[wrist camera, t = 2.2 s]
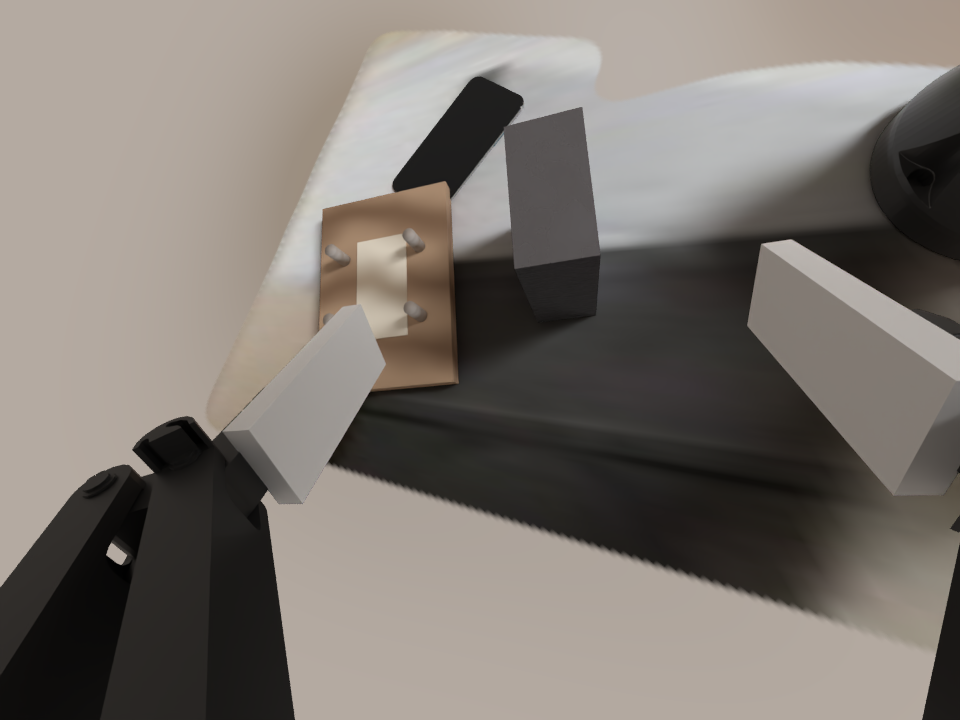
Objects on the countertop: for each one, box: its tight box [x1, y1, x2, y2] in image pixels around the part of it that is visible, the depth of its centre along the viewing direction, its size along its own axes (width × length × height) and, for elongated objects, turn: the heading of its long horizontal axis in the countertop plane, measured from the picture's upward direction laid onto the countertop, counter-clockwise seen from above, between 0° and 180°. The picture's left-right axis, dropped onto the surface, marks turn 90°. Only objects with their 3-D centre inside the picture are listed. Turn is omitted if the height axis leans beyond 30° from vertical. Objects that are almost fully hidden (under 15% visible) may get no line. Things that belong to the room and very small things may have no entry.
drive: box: [504, 107, 600, 323], centre depth 30 cm, size 10×5×12 cm, turn 3°
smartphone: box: [393, 77, 524, 200], centre depth 40 cm, size 7×1×15 cm
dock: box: [319, 181, 459, 392], centre depth 37 cm, size 20×14×4 cm
